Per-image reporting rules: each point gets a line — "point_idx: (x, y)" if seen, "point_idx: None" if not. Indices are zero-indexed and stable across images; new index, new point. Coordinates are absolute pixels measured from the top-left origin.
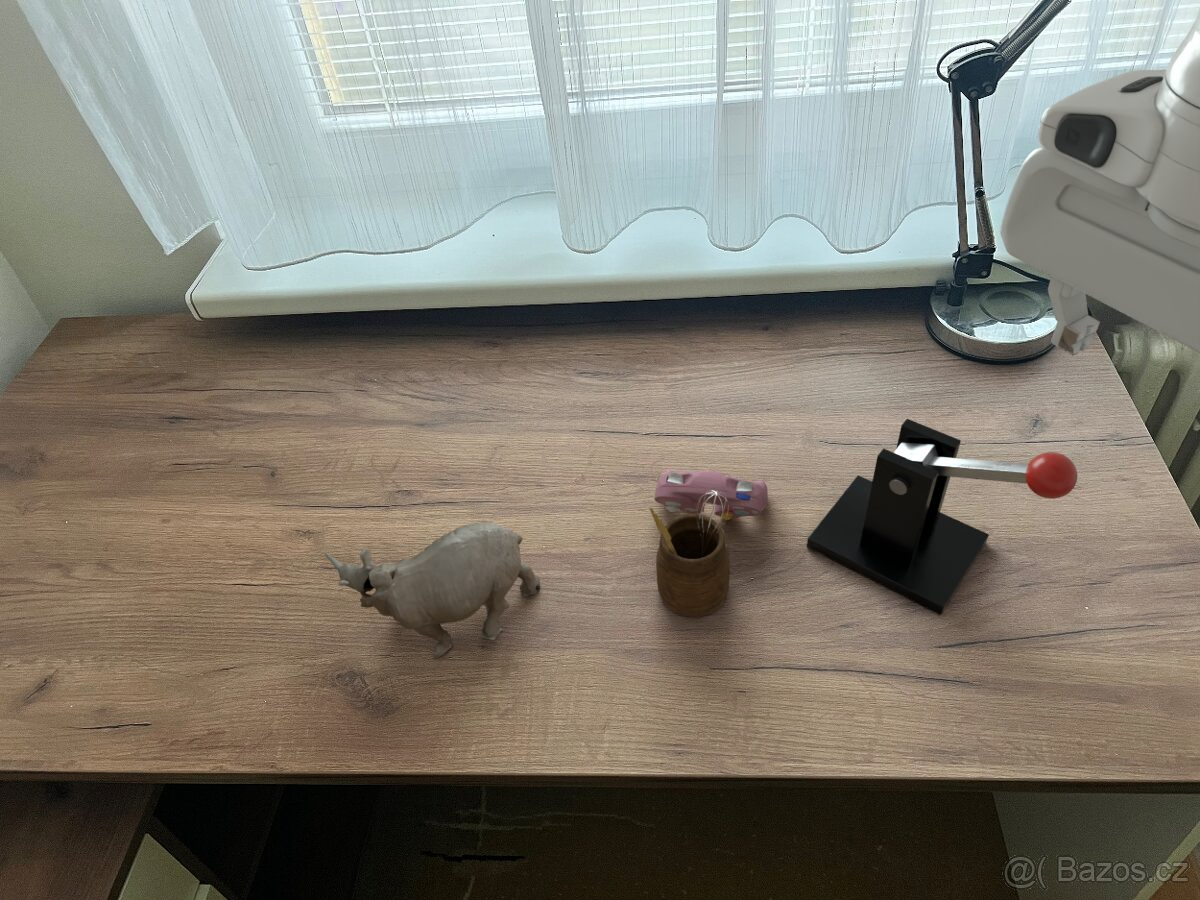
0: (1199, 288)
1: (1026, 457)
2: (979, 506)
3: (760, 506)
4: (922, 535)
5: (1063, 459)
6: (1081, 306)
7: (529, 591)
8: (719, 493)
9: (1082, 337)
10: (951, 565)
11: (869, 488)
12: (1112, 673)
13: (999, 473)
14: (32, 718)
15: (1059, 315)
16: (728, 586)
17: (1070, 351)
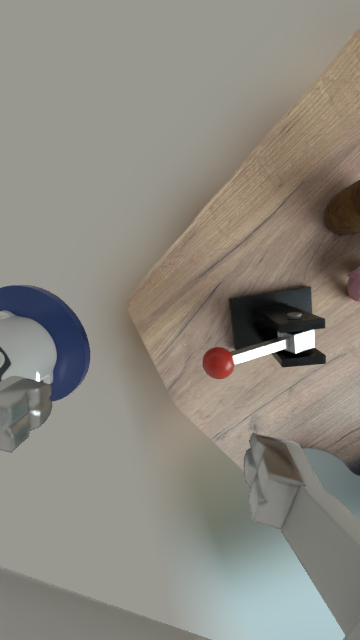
0: None
1: (247, 405)
2: (248, 365)
3: (354, 273)
4: (261, 329)
5: (216, 372)
6: (307, 552)
7: None
8: None
9: (259, 471)
10: (239, 323)
11: None
12: (162, 322)
13: (246, 350)
14: None
15: (336, 509)
16: (330, 223)
17: (260, 436)
